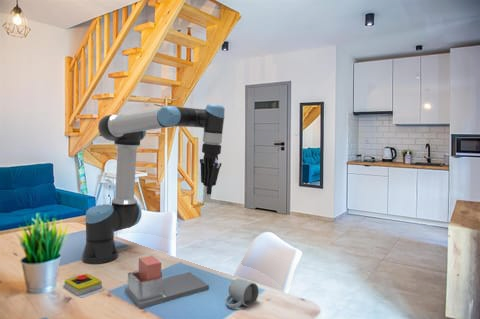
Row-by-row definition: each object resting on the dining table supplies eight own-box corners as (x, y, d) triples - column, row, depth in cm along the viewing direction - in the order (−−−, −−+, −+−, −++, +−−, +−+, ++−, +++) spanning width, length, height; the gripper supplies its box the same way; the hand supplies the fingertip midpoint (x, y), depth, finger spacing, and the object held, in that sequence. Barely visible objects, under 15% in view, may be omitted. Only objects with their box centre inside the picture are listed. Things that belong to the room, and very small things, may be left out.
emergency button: (85, 268, 140) (106, 279, 130) (85, 279, 140) (106, 290, 130) (61, 275, 132) (81, 287, 123) (61, 287, 133) (81, 299, 123)
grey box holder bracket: (128, 289, 127) (127, 272, 127) (152, 283, 133) (152, 267, 132) (139, 301, 118) (139, 284, 118) (164, 294, 124) (164, 277, 123)
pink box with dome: (138, 287, 128) (138, 258, 127) (154, 283, 132) (154, 255, 131) (147, 296, 122) (147, 265, 121) (163, 291, 125) (163, 261, 124)
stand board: (125, 291, 129) (124, 287, 129) (189, 275, 144) (189, 271, 144) (140, 308, 117) (140, 303, 116) (208, 289, 132) (208, 284, 132)
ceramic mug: (242, 294, 128) (242, 273, 127) (259, 302, 122) (259, 280, 122) (219, 304, 121) (219, 282, 120) (237, 313, 115) (237, 290, 114)
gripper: (229, 145, 141) (223, 204, 143) (211, 142, 151) (205, 197, 153) (212, 144, 136) (207, 205, 138) (195, 141, 146) (190, 198, 148)
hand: (206, 201), depth 145 cm, fingers closed
